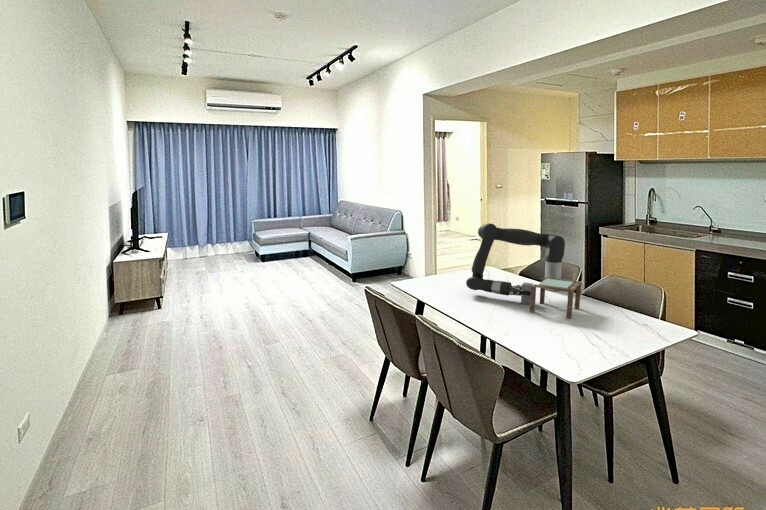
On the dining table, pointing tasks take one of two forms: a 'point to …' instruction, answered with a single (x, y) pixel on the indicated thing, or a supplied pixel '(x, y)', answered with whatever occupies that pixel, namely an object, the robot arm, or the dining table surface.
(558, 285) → the trapdoor
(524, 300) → the grey rectangular block
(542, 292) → the trapdoor frame
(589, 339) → the dining table surface
